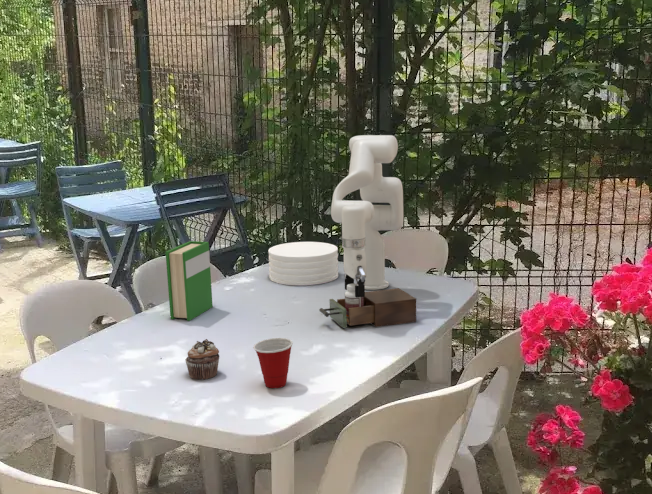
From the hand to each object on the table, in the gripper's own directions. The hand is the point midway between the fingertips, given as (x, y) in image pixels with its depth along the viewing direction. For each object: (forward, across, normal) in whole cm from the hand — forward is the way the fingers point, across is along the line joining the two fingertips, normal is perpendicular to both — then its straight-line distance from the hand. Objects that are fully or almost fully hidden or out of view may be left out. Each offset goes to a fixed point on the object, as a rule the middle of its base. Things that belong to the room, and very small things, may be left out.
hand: (354, 293), depth 285 cm
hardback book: (+10, +33, +49) cm, 60 cm away
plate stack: (+11, +66, -3) cm, 67 cm away
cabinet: (+10, 0, -12) cm, 16 cm away
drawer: (+9, 0, +2) cm, 10 cm away
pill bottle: (+8, 0, 0) cm, 8 cm away
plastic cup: (+10, -44, +40) cm, 61 cm away
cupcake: (+10, -29, +57) cm, 65 cm away
